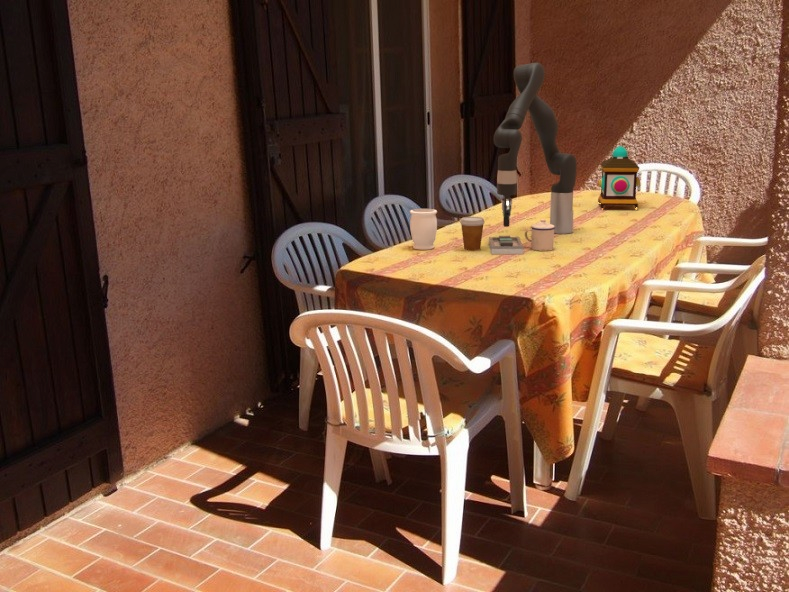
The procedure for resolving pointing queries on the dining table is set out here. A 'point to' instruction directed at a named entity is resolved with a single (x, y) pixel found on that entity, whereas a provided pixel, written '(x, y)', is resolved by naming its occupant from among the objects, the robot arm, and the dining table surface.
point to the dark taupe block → (506, 243)
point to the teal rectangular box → (505, 239)
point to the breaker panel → (499, 249)
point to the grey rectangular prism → (504, 237)
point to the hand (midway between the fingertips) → (506, 226)
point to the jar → (423, 228)
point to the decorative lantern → (618, 180)
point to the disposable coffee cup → (472, 232)
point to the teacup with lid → (541, 236)
